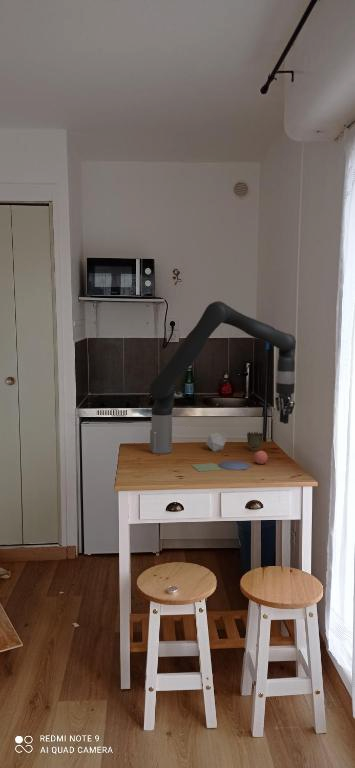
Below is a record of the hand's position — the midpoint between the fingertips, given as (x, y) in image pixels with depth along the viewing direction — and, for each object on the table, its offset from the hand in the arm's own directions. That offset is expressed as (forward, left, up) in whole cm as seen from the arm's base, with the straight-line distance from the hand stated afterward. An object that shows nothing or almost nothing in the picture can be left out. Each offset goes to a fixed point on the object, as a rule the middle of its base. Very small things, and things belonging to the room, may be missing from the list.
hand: (284, 422), depth 243 cm
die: (-20, +27, -17) cm, 38 cm away
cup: (-3, +22, -17) cm, 28 cm away
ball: (-10, 0, -14) cm, 18 cm away
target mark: (-22, 0, -17) cm, 28 cm away
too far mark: (-34, 0, -17) cm, 38 cm away
